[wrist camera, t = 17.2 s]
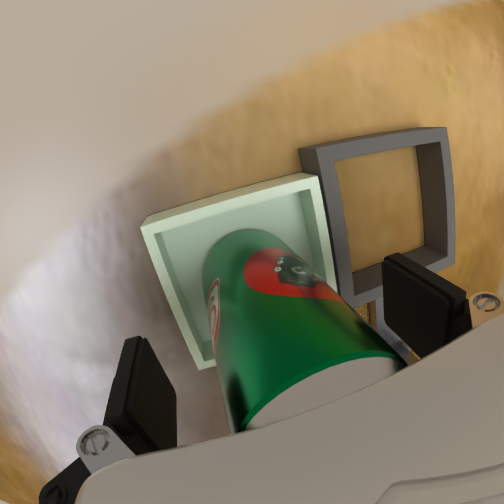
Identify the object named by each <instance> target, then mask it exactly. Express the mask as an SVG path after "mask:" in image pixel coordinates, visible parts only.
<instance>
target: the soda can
mask: <svg viewBox="0 0 504 504" xmlns="http://www.w3.org/2000/svg"><path fill="white" fill-rule="evenodd" d="M202 286H203V293H204V299H205V305H206V311H207V317H208V323H209V329H210V335H211V341H212V346H213V352H214V357H215V362H216V368H217V373H218V378H219V383H220V388H221V393H222V398H223V403H224V408H225V412H226V417H227V422H228V426H229V431H230V435H231V434H235V433H239V432H243V431H246V430H250V429H253V428H256V427H260V426H263V425H266V424H270V423H273V422H276V421H279V420H282V419H285V418H288V417H291V416H294V415H296V414H299V413H302V412H305V411H308V410H310V409H313V408H316V407H318V406H321V405H323V404H326V403H329V402H331V401H333V400H336V399H338V398H341V397H343V396H346V395H348V394H350V393H353V392H355V391H357V390H359V389H362V388H364V387H366V386H368V385H370V384H372V383H375V382H377V381H379V380H381V379H383V378H385V377H387V376H389V375H391V374H393V373H395V372H397V371H399V370H401V369H403V368H405V367H407V366H409V365H408V364H407V363H406V361H405V360H404V359H403V358H402V357H401V356H400V355H399V354H398V353H397V352H396V351H395V350H394V349H393V348H392V347H391V346H390V345H389V344H388V343H387V342H386V341H385V340H384V339H383V338H382V337H381V336H380V335H379V334H378V333H377V332H376V331H375V330H374V329H373V328H372V327H371V326H370V325H369V324H368V323H367V322H366V321H365V320H364V319H363V318H362V317H361V316H360V315H359V314H358V313H357V312H356V311H355V310H354V309H353V308H352V307H351V306H350V305H349V304H348V303H347V302H346V301H345V300H344V299H343V298H342V297H341V296H340V295H339V294H338V293H337V292H336V291H335V290H334V289H333V288H331V287H330V286H329V285H328V284H327V283H326V282H325V281H324V280H323V279H322V278H321V277H320V276H319V275H318V274H317V273H316V272H315V271H314V270H313V269H312V268H311V267H310V266H309V265H308V264H306V263H305V262H304V261H303V260H302V259H301V258H300V257H299V256H298V255H297V254H296V253H295V252H294V251H293V250H292V249H291V248H290V247H289V246H287V245H286V244H285V243H284V242H283V241H282V240H281V239H280V238H278V237H277V236H275V235H273V234H271V233H269V232H265V231H262V230H244V231H239V232H236V233H233V234H231V235H229V236H227V237H225V238H224V239H222V240H221V241H220V242H218V243H217V244H216V245H215V246H214V247H213V248H212V250H211V251H210V253H209V254H208V256H207V258H206V260H205V262H204V265H203V269H202Z"/></svg>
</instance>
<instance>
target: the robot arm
mask: <svg viewBox="0 0 504 504" xmlns="http://www.w3.org/2000/svg"><path fill="white" fill-rule="evenodd" d="M381 267H382V283H383V307H384V321H385V323H386V325H387V326H388V327H389V328H390V329H391V330H392V331H393V332H394V333H395V334H396V335H397V336H398V337H399V338H401V339H402V340H403V341H404V342H405V343H406V344H407V345H408V346H409V347H410V348H411V349H412V350H413V351H414V352H415V353H416V354H417V355H418V356H419V357H420V358H421V359H420V360H418V361H416V362H414V363H412V364H411V365H409V366H407V367H405V368H403V369H401V370H399V371H397V372H395V373H393V374H391V375H389V376H387V377H385V378H383V379H381V380H379V381H377V382H375V383H372V384H370V385H368V386H366V387H364V388H362V389H359V390H357V391H355V392H353V393H350V394H348V395H346V396H343V397H341V398H338V399H336V400H333V401H331V402H329V403H326V404H323V405H321V406H318V407H316V408H313V409H310V410H308V411H305V412H302V413H299V414H296V415H294V416H291V417H288V418H285V419H282V420H279V421H276V422H273V423H270V424H266V425H263V426H260V427H256V428H253V429H250V430H246V431H243V432H239V433H235V434H231V435H227V436H224V437H219V438H215V439H211V440H207V441H203V442H198V443H193V444H189V445H184V446H179V447H177V416H176V393H175V390H174V388H173V386H172V384H171V383H170V381H169V379H168V377H167V375H166V374H165V372H164V370H163V368H162V366H161V364H160V363H159V361H158V359H157V357H156V355H155V353H154V351H153V349H152V347H151V345H150V343H149V342H148V340H147V339H146V338H144V339H142V337H141V336H136V337H132V338H128V339H126V340H125V342H124V346H123V349H122V353H121V357H120V360H119V364H118V368H117V372H116V376H115V377H114V380H113V383H112V387H111V391H110V395H109V399H108V404H107V408H106V412H105V417H104V422H103V425H97V426H93V427H91V428H89V429H87V430H86V431H85V432H83V433H82V434H81V436H80V437H79V439H78V441H77V444H76V450H77V453H78V455H79V456H80V457H79V458H78V459H76V460H75V461H74V462H73V463H72V464H70V465H69V466H68V467H67V468H65V469H64V470H63V471H62V472H61V473H59V474H58V475H57V476H56V477H54V478H53V479H52V480H51V481H50V482H48V483H47V484H46V485H45V486H44V487H43V488H42V490H41V492H40V495H39V504H504V301H503V299H502V298H501V297H500V296H499V295H497V294H495V293H492V292H486V291H483V292H478V293H475V294H473V295H472V296H471V297H470V299H469V300H468V299H466V291H464V290H462V289H461V288H459V287H457V286H456V285H454V284H453V283H451V282H449V281H447V280H446V279H444V278H442V277H441V276H439V275H437V274H436V273H434V272H432V271H430V270H429V269H427V268H425V267H423V266H422V265H420V264H418V263H416V262H415V261H413V260H411V259H409V258H407V257H406V256H404V255H402V254H400V253H398V252H397V253H394V254H392V255H389V256H387V257H385V258H384V261H383V262H382V264H381Z"/></svg>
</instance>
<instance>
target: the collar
mask: <svg viewBox="0 0 504 504" xmlns="http://www.w3.org/2000/svg"><path fill="white" fill-rule="evenodd" d="M415 145H416V151H417V157H418V165H419V172H420V181H421V191H422V202H423V215H424V234H425V246H422V247H420V248H417V249H415V250H412V251H410V252H407V253H405V254H402V255H404V256H406V257H407V258H409V259H411V260H413V261H415V262H416V263H418V264H420V265H422V266H423V267H425V268H427V269H429V270H430V271H432V272H434V273H437V272H439V271H441V270H443V269H445V268H447V267H449V266H451V265H453V264H455V201H454V185H453V173H452V163H451V155H450V147H449V140H448V133H447V127H420V128H412V129H405V130H397V131H391V132H384V133H377V134H371V135H365V136H359V137H354V138H348V139H343V140H337V141H332V142H327V143H322V144H317V145H313V146H308V147H303V148H299V149H298V150H299V154H300V159H301V163H302V168H303V172H304V173H306V174H311V175H316V176H318V180H319V185H320V190H321V195H322V200H323V206H324V211H325V216H326V222H327V228H328V234H329V240H330V246H331V252H332V258H333V265H334V272H335V279H336V286H337V293H338V294H339V295H340V296H341V297H342V298H343V299H344V300H345V301H346V302H347V303H348V304H349V305H350V306H351V307H352V308H353V309H354V308H357V307H359V306H362V305H364V304H366V303H369V302H371V301H374V300H376V299H379V298H381V297H383V283H382V267H381V264H382V263H379V264H376V265H374V266H371V267H368V268H366V269H363V270H360V271H358V272H355V273H352V270H351V262H350V254H349V247H348V239H347V232H346V226H345V219H344V213H343V207H342V201H341V195H340V190H339V184H338V179H337V173H336V168H335V163H334V161H338V160H343V159H347V158H352V157H357V156H362V155H366V154H371V153H377V152H382V151H387V150H392V149H398V148H403V147H409V146H415Z"/></svg>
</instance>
